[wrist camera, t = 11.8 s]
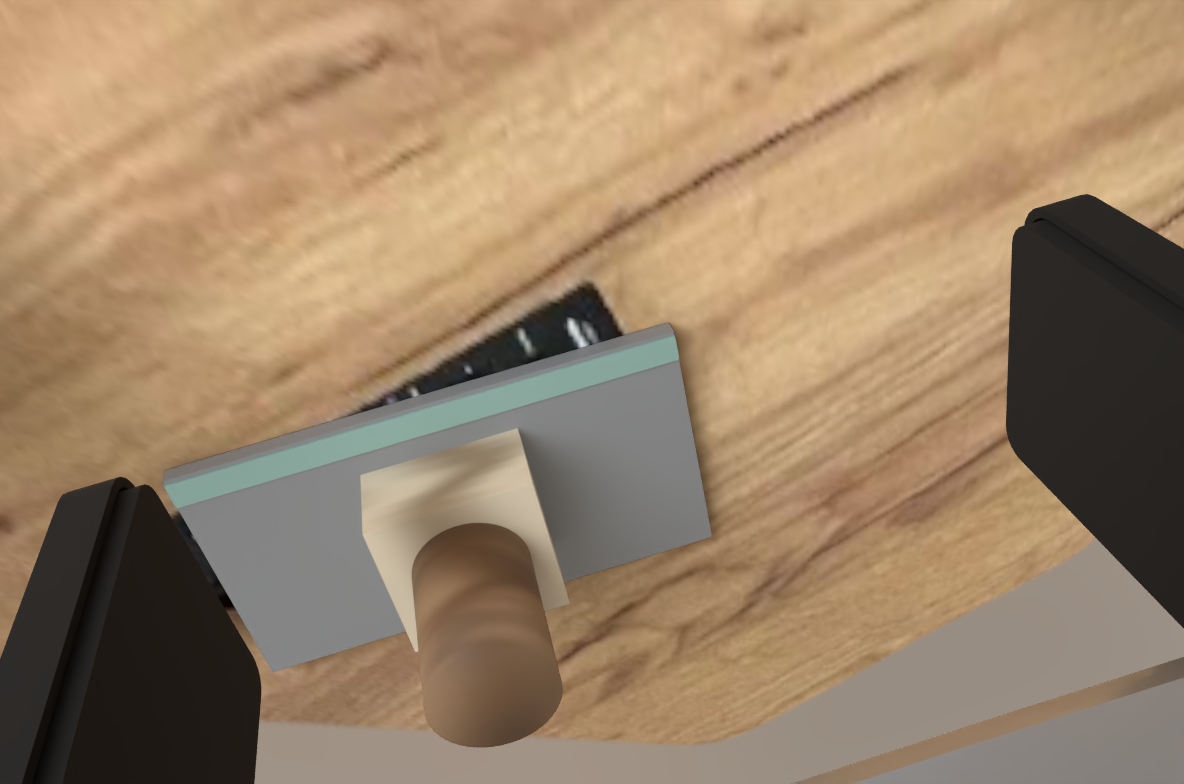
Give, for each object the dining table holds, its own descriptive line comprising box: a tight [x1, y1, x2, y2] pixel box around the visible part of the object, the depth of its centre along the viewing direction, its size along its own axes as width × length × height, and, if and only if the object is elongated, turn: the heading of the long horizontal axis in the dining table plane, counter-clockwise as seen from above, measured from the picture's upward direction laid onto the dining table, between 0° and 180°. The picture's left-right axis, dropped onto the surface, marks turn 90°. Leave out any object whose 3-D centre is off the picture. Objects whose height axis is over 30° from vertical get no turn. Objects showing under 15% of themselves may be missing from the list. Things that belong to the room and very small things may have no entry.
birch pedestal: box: [360, 428, 570, 652], centre depth 44 cm, size 7×7×4 cm
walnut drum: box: [412, 523, 563, 747], centre depth 39 cm, size 5×5×7 cm
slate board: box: [162, 322, 712, 672], centre depth 46 cm, size 22×12×1 cm, turn 103°
